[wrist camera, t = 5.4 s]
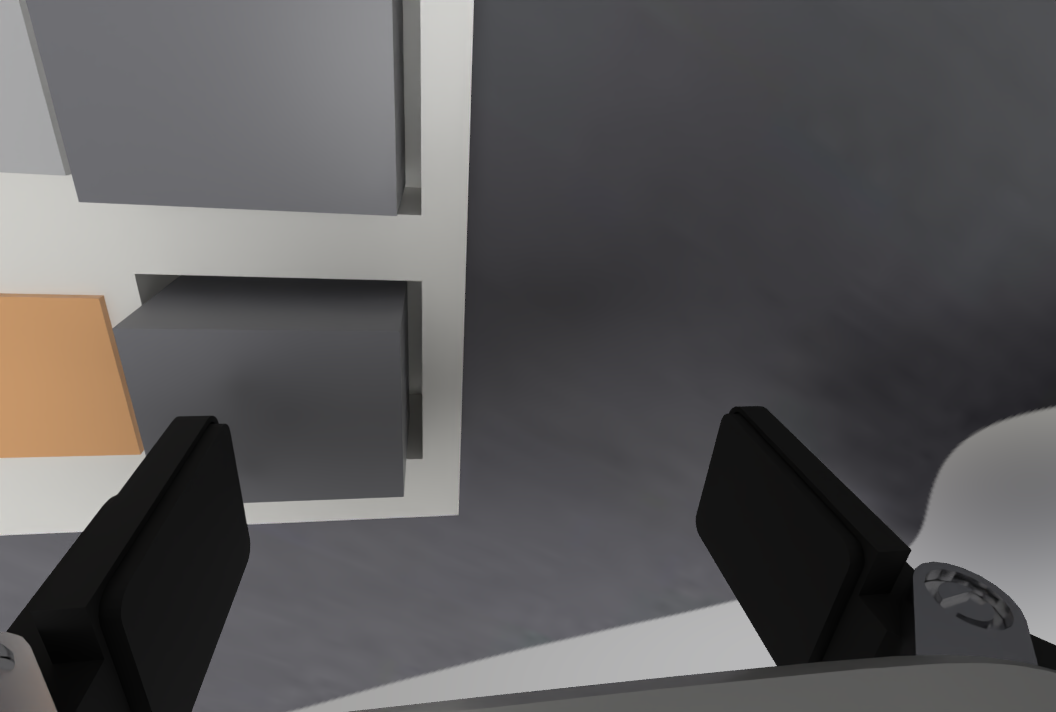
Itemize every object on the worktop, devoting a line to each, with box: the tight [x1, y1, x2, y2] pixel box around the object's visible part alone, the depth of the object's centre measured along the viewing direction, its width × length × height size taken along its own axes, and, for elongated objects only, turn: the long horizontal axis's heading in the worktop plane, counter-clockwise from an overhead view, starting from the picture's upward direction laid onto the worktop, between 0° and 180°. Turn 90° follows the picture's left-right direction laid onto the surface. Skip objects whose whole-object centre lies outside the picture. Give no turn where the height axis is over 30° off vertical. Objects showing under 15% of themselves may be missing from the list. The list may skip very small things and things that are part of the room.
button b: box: [26, 0, 406, 216], centre depth 11 cm, size 5×4×4 cm
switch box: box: [0, 0, 474, 535], centre depth 12 cm, size 12×22×5 cm, turn 176°
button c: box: [112, 275, 410, 503], centre depth 13 cm, size 5×4×4 cm
